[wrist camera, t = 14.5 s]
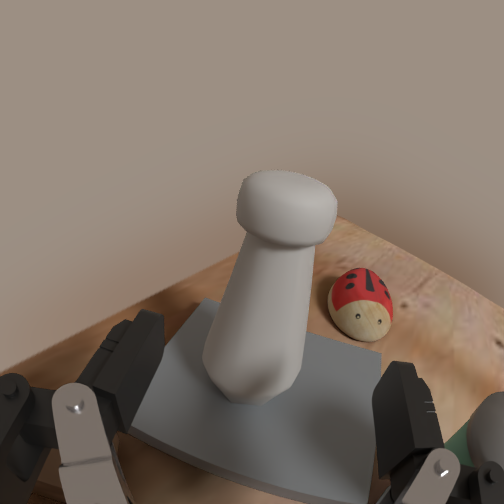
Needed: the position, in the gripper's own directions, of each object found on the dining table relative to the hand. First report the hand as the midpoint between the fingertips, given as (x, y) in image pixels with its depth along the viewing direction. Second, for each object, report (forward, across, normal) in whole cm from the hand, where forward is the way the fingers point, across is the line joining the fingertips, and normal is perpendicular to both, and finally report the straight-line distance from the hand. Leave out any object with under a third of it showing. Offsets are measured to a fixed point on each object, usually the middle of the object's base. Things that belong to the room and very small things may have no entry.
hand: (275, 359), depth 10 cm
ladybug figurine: (+18, -9, +10) cm, 22 cm away
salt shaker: (+6, +1, +9) cm, 10 cm away
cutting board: (+6, -1, +10) cm, 11 cm away
